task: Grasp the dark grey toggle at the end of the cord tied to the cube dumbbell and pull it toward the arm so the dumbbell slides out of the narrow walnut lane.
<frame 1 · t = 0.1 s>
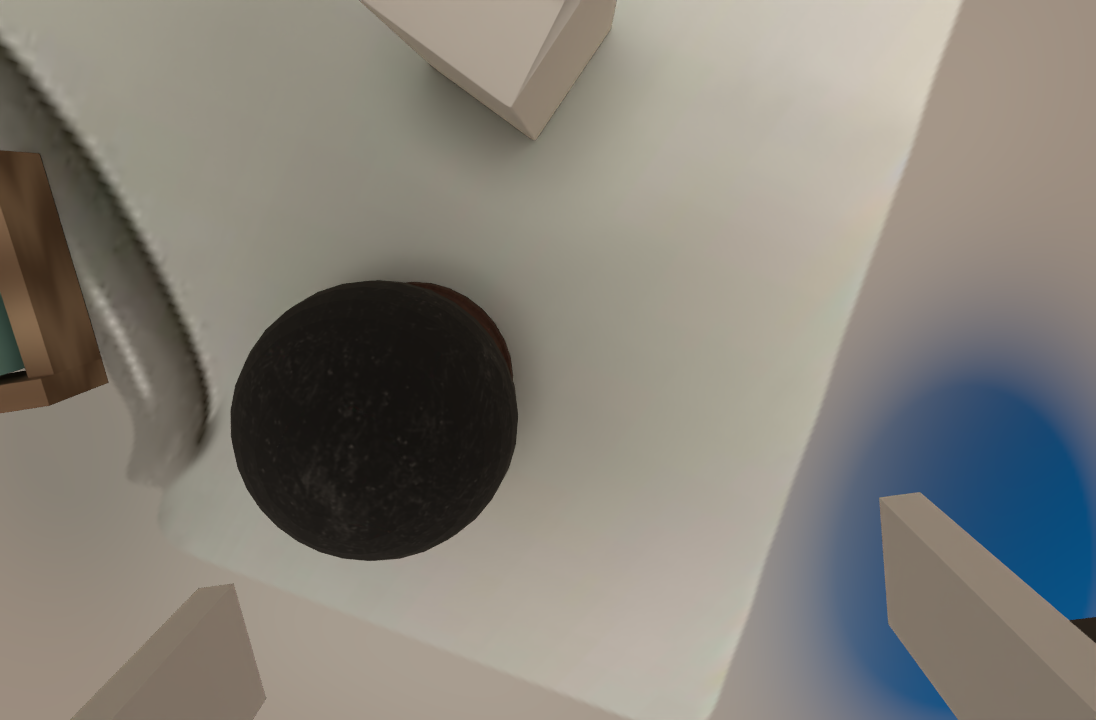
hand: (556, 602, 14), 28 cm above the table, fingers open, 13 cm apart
speckled black round top: (419, 375, 43), on the table
cube dumbbell: (2, 314, 43), on the table
milk carton: (519, 46, 39), on the table
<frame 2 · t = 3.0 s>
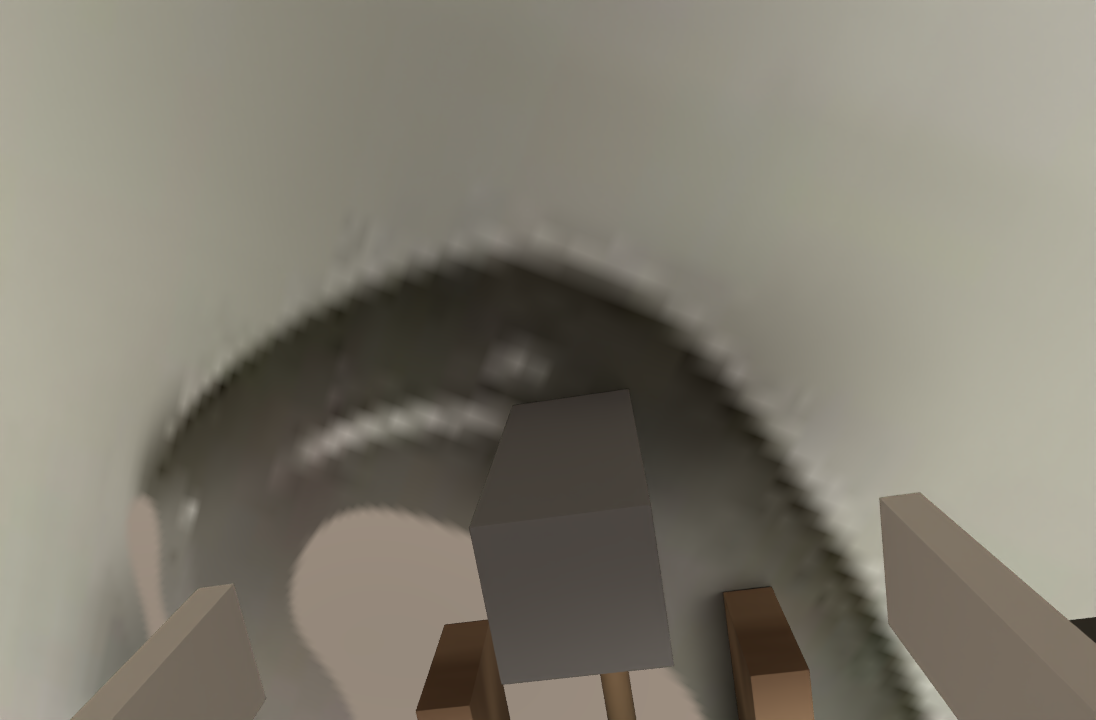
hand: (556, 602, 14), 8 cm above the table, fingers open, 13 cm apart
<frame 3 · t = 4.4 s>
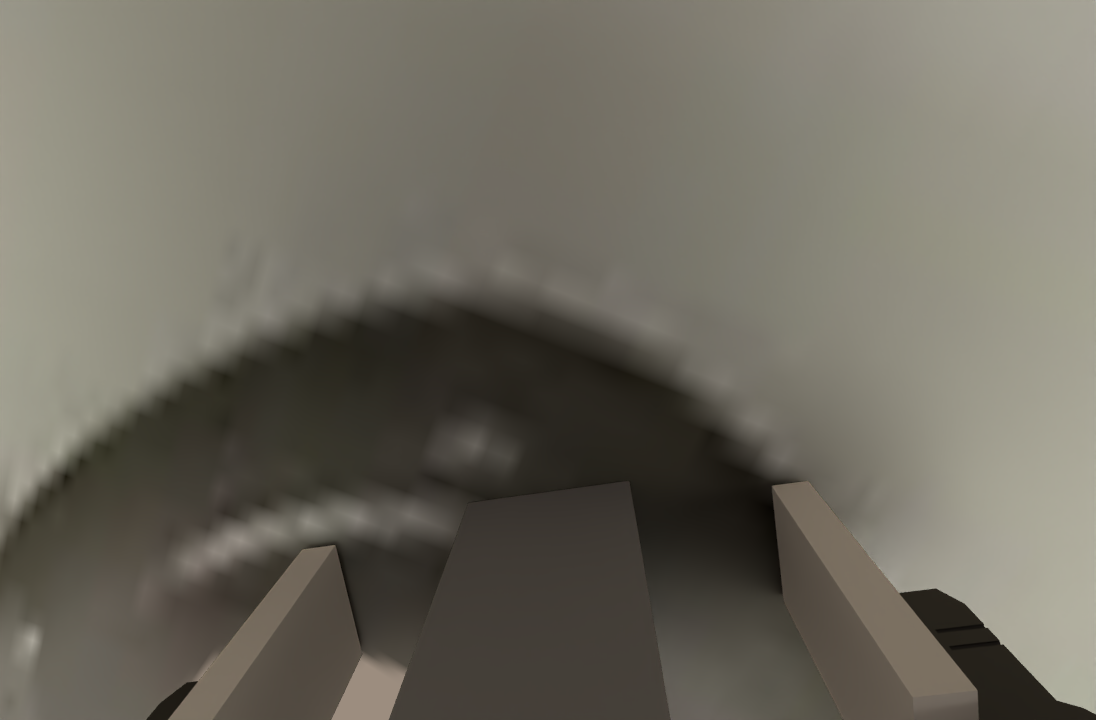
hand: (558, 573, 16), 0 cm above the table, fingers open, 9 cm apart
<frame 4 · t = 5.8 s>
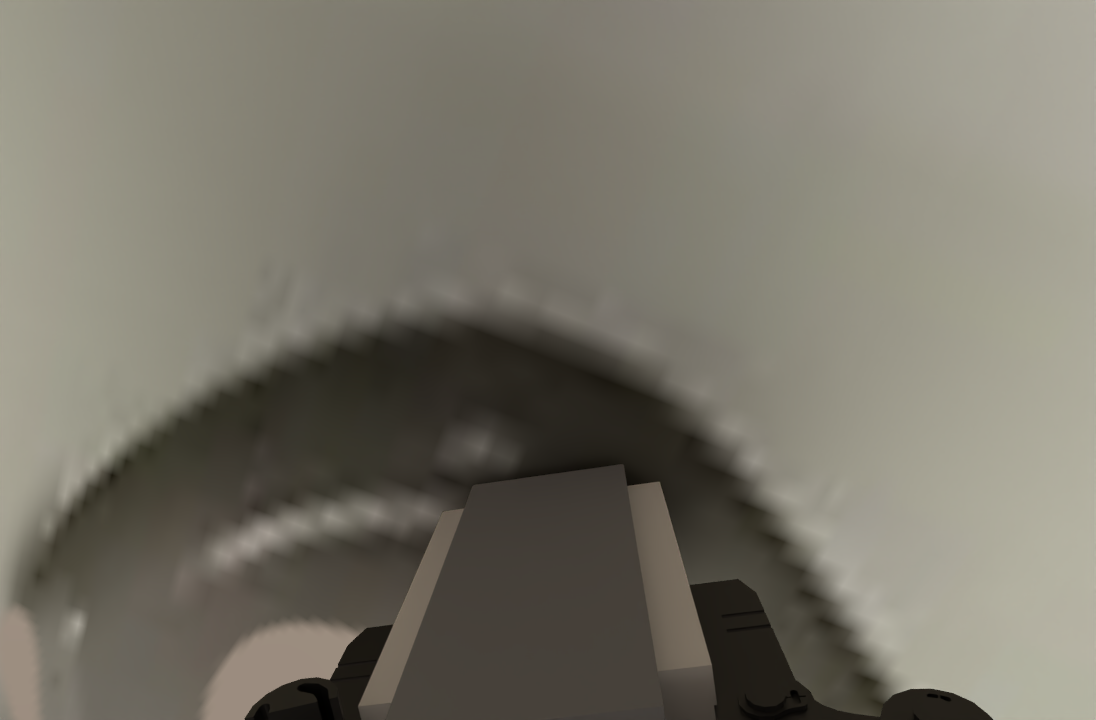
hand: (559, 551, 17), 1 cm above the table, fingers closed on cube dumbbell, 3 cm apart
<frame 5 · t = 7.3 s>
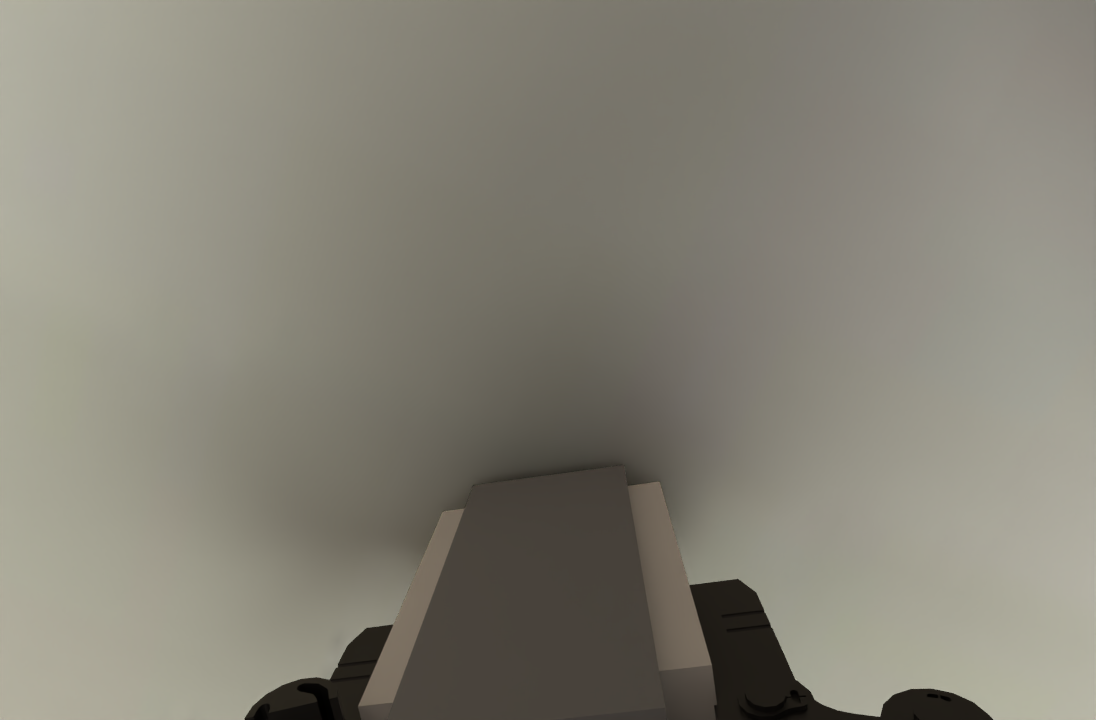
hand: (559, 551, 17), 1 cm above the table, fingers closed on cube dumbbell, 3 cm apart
when the fingers open (1 cm above the table, at t = 9.2 s): cube dumbbell stays where it is, on the table.
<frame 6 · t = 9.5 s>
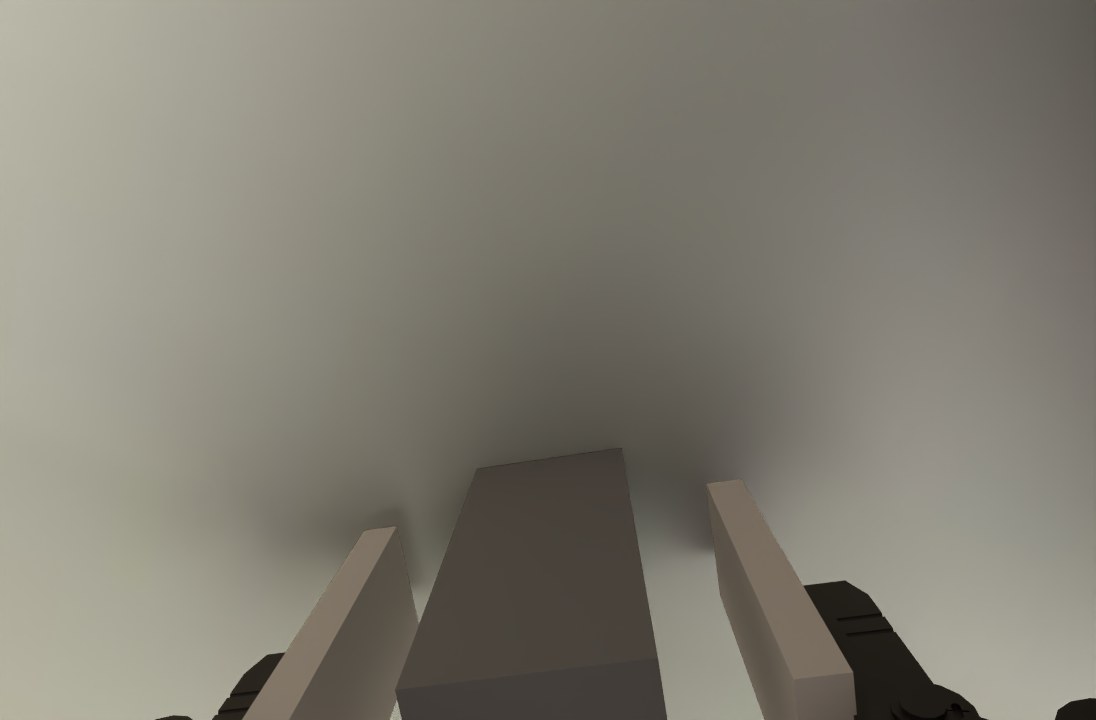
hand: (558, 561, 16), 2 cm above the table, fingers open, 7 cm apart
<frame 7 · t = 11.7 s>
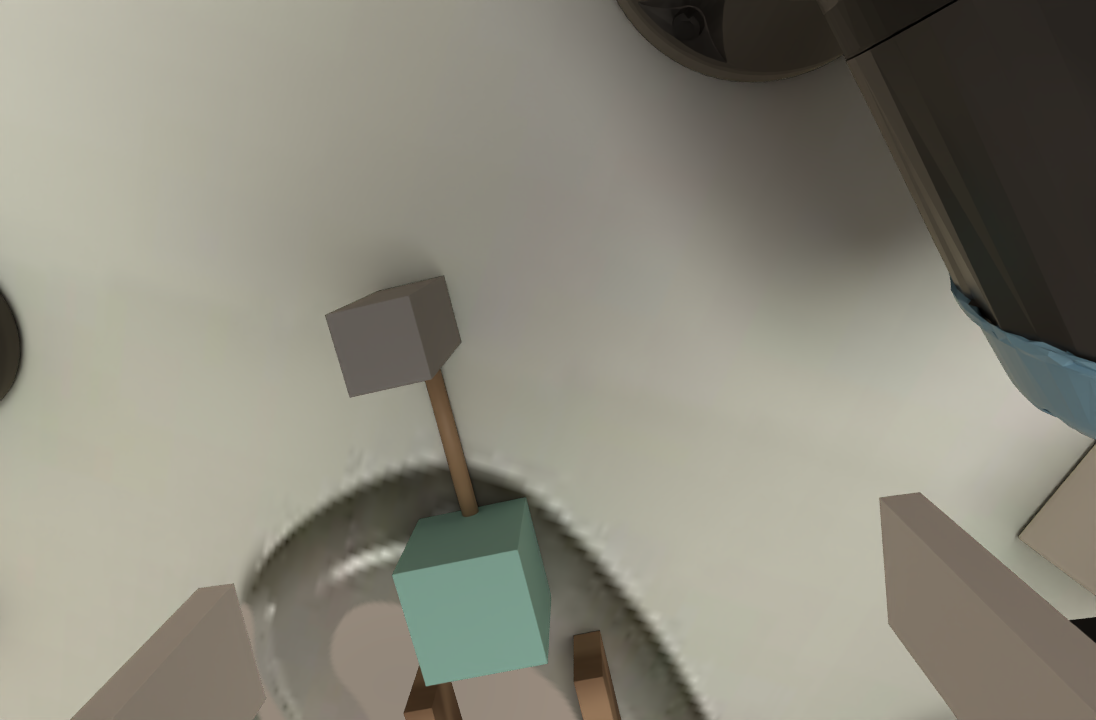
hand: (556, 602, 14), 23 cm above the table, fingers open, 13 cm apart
cube dumbbell: (485, 557, 40), on the table
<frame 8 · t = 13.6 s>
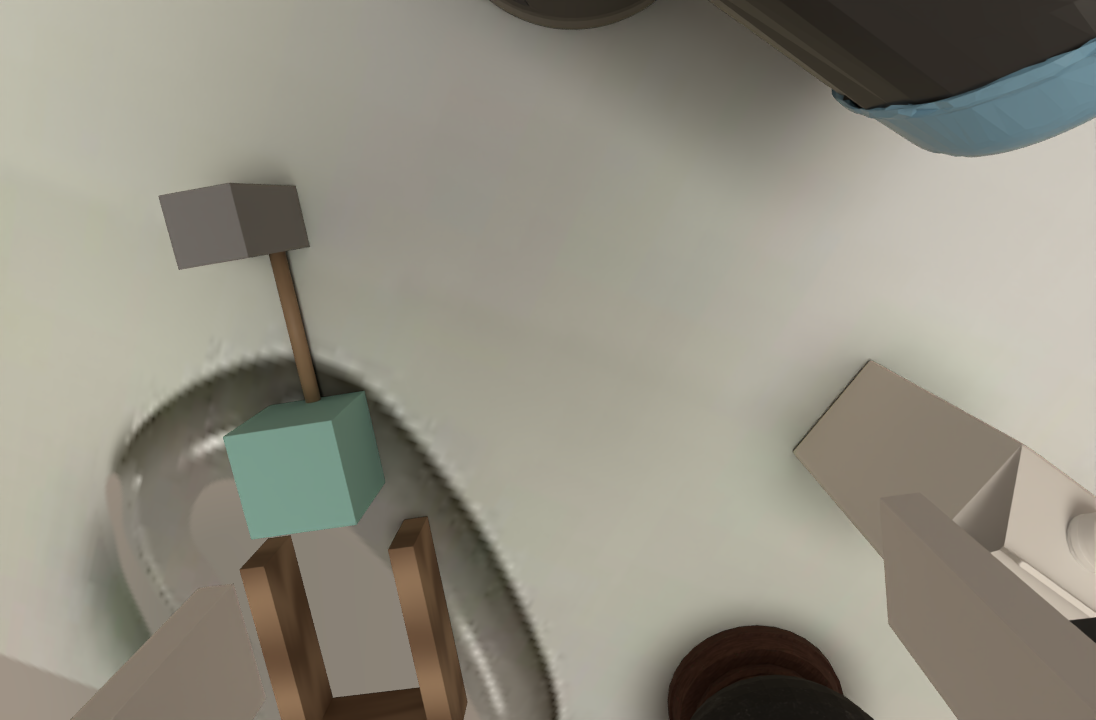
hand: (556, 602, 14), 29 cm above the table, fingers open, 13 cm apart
lane: (367, 611, 47), on the table
speckled black round top: (752, 699, 48), on the table
cube dumbbell: (328, 444, 45), on the table
milk carton: (874, 437, 43), on the table
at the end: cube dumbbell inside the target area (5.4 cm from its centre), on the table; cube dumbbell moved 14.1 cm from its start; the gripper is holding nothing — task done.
